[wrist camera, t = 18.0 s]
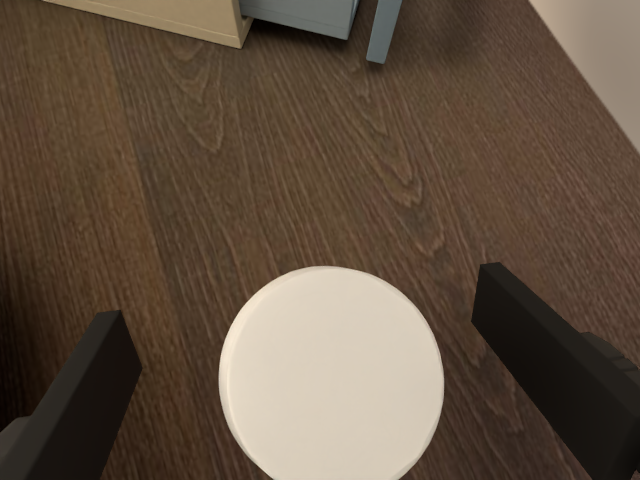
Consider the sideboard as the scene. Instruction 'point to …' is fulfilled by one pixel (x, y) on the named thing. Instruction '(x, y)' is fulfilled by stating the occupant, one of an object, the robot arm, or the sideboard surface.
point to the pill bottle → (331, 377)
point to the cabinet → (177, 16)
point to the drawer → (328, 19)
